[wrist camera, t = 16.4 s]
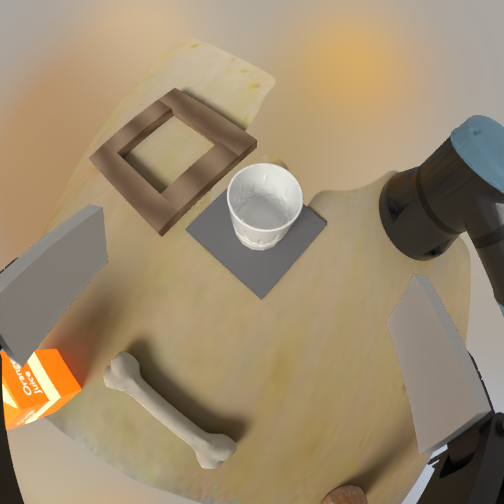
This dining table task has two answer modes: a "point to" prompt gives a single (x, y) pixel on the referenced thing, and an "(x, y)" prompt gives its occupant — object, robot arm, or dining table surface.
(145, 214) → the puzzle board
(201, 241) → the rubber mat
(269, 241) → the white cup
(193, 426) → the dog toy
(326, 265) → the dining table surface
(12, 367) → the orange juice
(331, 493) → the vase
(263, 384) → the dining table surface
